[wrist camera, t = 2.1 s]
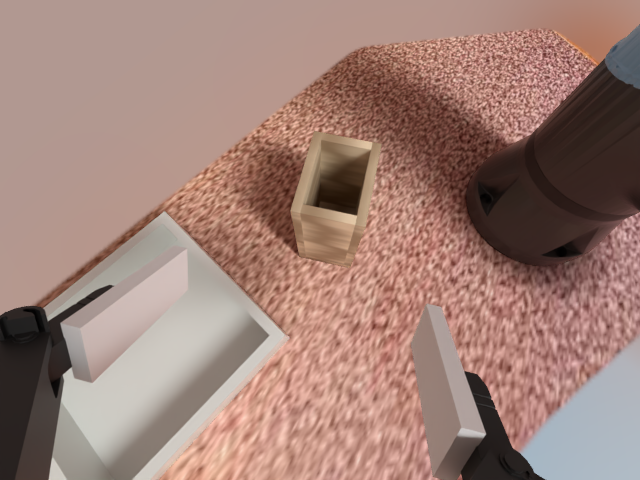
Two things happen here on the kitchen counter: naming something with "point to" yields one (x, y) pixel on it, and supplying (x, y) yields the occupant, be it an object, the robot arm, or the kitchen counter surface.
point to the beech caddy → (334, 197)
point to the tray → (160, 366)
